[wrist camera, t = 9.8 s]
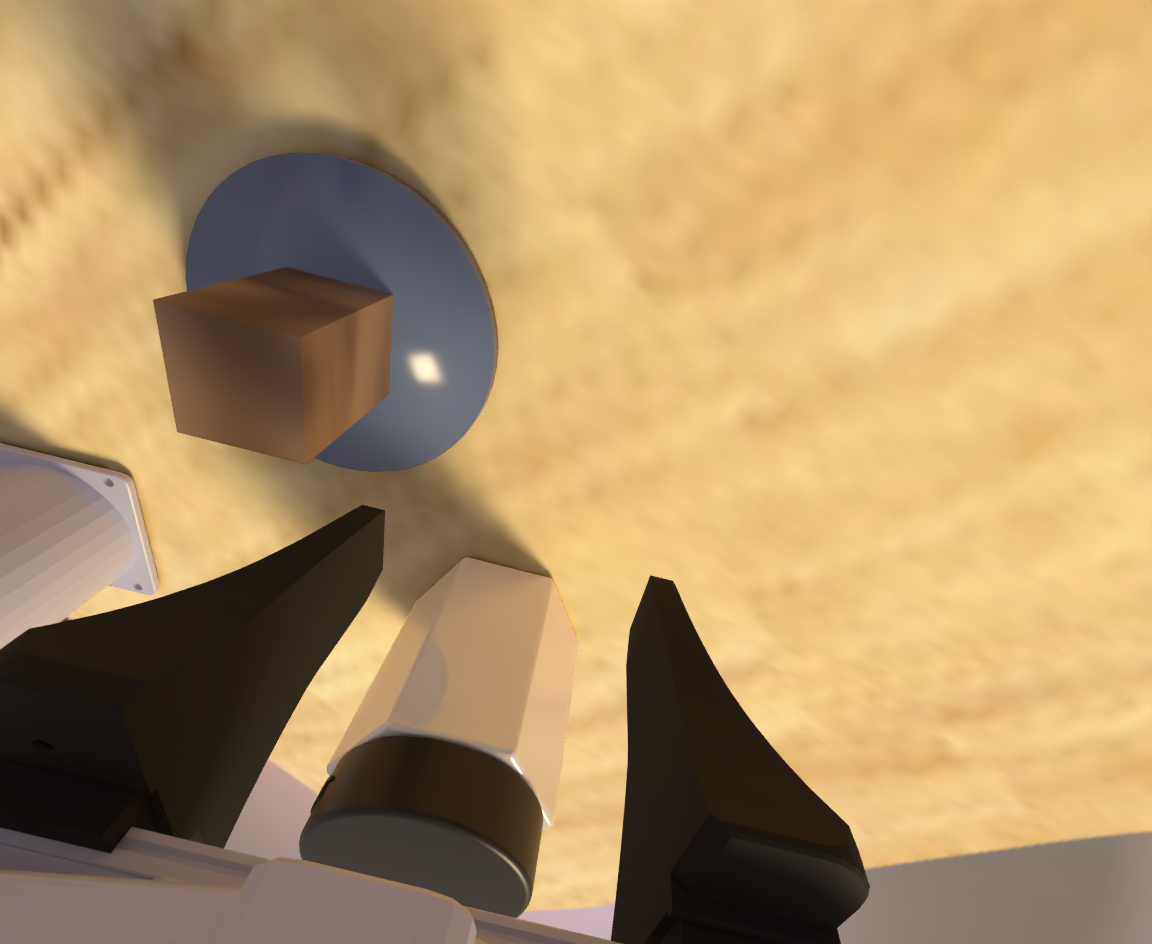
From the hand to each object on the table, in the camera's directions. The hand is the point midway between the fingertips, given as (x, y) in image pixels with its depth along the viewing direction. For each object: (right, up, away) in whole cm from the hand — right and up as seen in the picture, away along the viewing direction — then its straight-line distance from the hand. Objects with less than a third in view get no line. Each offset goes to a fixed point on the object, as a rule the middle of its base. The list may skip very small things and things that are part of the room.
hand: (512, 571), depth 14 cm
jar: (-2, -5, +14) cm, 15 cm away
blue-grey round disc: (-7, +8, +7) cm, 13 cm away
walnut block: (-7, +8, +6) cm, 12 cm away
